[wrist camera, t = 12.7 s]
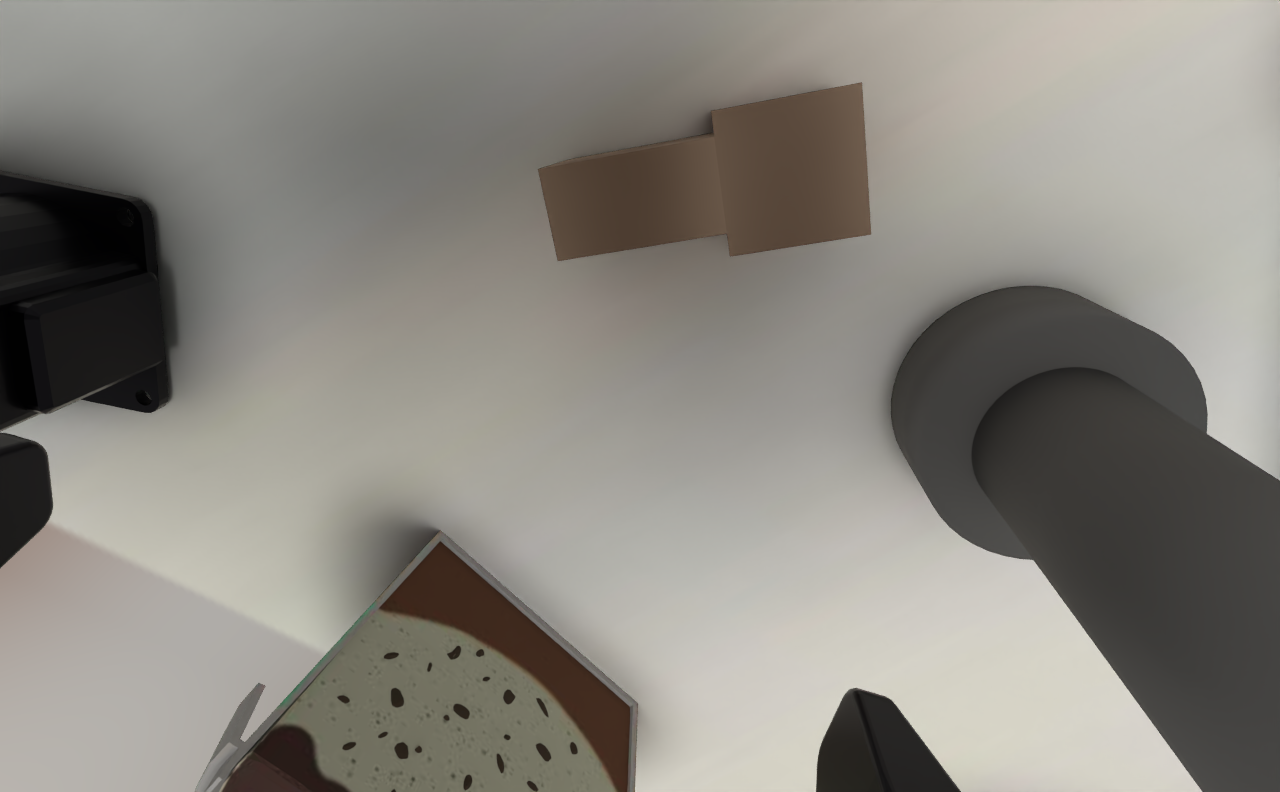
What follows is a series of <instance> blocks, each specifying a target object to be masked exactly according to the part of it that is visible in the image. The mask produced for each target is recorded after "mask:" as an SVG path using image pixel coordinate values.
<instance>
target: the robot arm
mask: <svg viewBox="0 0 1280 792" xmlns="http://www.w3.org/2000/svg"><path fill="white" fill-rule="evenodd" d="M128 210H129V211H130V212H131V213H132V214H133V217H134V222H132V221H131V220H130V219H129V218H128V215H127V211H128ZM145 391H146V392H147V393H148V394H149V395H150V396H151V399H152V400H151V399H149V398H148V397H147V396H146V393H145ZM168 397H169V395H168V384H167V373H166V361H165V350H164V338H163V327H162V315H161V304H160V293H159V281H158V270H157V258H156V247H155V236H154V224H153V217H152V213H151V211H150V209H149V207H148V206H147V205H146V204H145V203H144V202H143V201H142V200H140V199H138V198H135V197H131V196H126V195H121V194H116V193H110V192H105V191H100V190H95V189H90V188H85V187H80V186H75V185H70V184H65V183H60V182H54V181H49V180H44V179H39V178H34V177H29V176H24V175H19V174H14V173H9V172H4V171H0V432H1V431H3V430H5V429H7V428H10V427H12V426H14V425H16V424H19V423H21V422H23V421H25V420H28V419H30V418H32V417H34V416H37V415H39V414H41V413H44V414H47V413H52V412H54V411H56V410H58V409H61V408H63V407H65V406H67V405H69V404H72V403H74V402H76V401H78V400H86V401H90V402H95V403H100V404H105V405H110V406H115V407H120V408H125V409H130V410H135V411H139V412H144V413H151V412H154V411H156V410H158V409H160V408H162V407H163V406H165V405H166V404H167V402H168ZM52 510H53V498H52V489H51V480H50V471H49V462H48V455H47V452H46V450H45V449H44V448H43V446H42V445H40V444H39V443H37V442H35V441H31V440H28V439H25V438H21V437H18V436H15V435H11V434H7V433H0V568H1V567H2V566H3V565H4V564H5V563H6V562H7V561H8V560H10V559H11V558H12V557H13V556H14V555H15V554H16V553H17V552H18V551H19V550H20V549H21V548H22V547H23V546H24V545H26V544H27V543H28V542H29V541H30V540H31V539H32V538H33V537H34V536H35V535H36V534H37V533H38V532H39V531H40V530H41V529H42V528H43V527H44V526H45V525H46V523H47V522H48V520H49V518H50V516H51V514H52ZM816 792H961V791H960V790H959V789H958V787H957V786H956V785H955V783H954V782H953V781H952V779H951V778H950V777H949V775H948V774H947V773H946V771H945V770H944V769H943V767H942V766H941V765H940V763H939V762H938V761H937V759H936V758H935V757H934V755H933V754H932V753H931V751H930V750H929V749H928V747H927V746H926V745H925V743H924V742H923V741H922V739H921V738H920V737H919V735H918V734H917V733H916V731H915V730H914V729H913V727H912V726H911V725H910V723H909V722H908V721H907V719H906V718H905V717H904V715H903V714H902V713H901V711H900V710H899V709H898V707H897V706H896V705H895V704H894V703H893V701H892V700H890V699H889V698H887V697H885V696H882V695H879V694H875V693H872V692H869V691H865V690H862V689H859V688H853V689H850V690H848V692H847V693H846V694H845V695H844V697H843V699H842V701H841V703H840V705H839V707H838V709H837V711H836V713H835V715H834V717H833V720H832V722H831V724H830V726H829V728H828V730H827V732H826V734H825V736H824V738H823V741H822V743H821V746H820V750H819V755H818V762H817V784H816Z"/></svg>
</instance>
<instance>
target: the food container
mask: <svg viewBox="0 0 1280 792" xmlns="http://www.w3.org/2000/svg"><path fill="white" fill-rule="evenodd" d="M264 688H265V685H263V684H260V683H258V684H257V685H256V686H255V688H254V689H253V690H252V691H251V692H250V693H249V694H248V696H247V697H246V698H245V699H244V700H243V701H242V702H241V704H240V705H239V707H238V708H237V710H236V712H235V714H234V716H233V718H232V719H231V721H230V723H229V725H228V727H227V729H226V730H225V732H224V734H223V736H222V738H221V740H220V742H219V744H218V746H217V748H216V750H215V752H214V754H213V756H212V758H211V760H210V762H209V763H208V766H207V767H206V769H205V771H204V773H203V775H202V777H201V779H200V781H199V783H198V785H197V787H196V789H195V792H635V772H636V743H637V714H638V703H637V702H635V701H634V700H633V699H632V698H631V697H630V696H629V695H627V694H626V693H625V692H624V691H623V690H622V689H621V688H619V687H618V686H617V685H616V684H615V683H614V682H613V681H611V680H610V679H609V678H608V677H607V676H606V675H605V674H603V673H602V672H601V671H600V670H599V669H598V668H597V667H596V666H594V665H593V664H592V663H591V662H590V661H589V660H588V659H586V658H585V657H584V656H583V655H582V654H581V653H580V652H578V651H577V650H576V649H575V648H574V647H573V646H572V645H570V644H569V643H568V642H567V641H566V640H565V639H564V638H562V637H561V636H560V635H559V634H558V633H557V632H556V631H555V630H553V629H552V628H551V627H550V626H549V625H548V624H547V623H545V622H544V621H543V620H542V619H541V618H540V617H539V616H537V615H536V614H535V613H534V612H533V611H532V610H531V609H529V608H528V607H527V606H526V605H525V604H524V603H523V602H521V601H520V600H519V599H518V598H517V597H516V596H515V595H513V594H512V593H511V592H510V591H509V590H508V589H507V588H506V587H504V586H503V585H502V584H501V583H500V582H499V581H498V580H496V579H495V578H494V577H493V576H492V575H491V574H490V573H488V572H487V571H486V570H485V569H484V568H483V567H482V566H480V565H479V564H478V563H477V562H476V561H475V560H474V559H472V558H471V557H470V556H469V555H468V554H467V553H466V552H465V551H463V550H462V549H461V548H460V547H459V546H458V545H457V544H455V543H454V542H453V541H452V540H451V539H450V538H449V537H447V536H446V535H445V534H444V533H443V532H442V531H441V530H440V531H439V532H438V533H437V534H436V536H435V537H434V538H433V539H432V540H431V541H430V542H429V543H428V544H427V545H426V546H425V547H424V549H423V550H422V551H421V552H420V553H419V554H418V555H417V556H416V557H415V558H414V559H413V560H412V562H411V563H410V564H409V565H408V566H407V567H406V568H405V569H404V570H403V571H402V572H401V574H400V575H399V576H398V577H397V578H396V579H395V580H394V581H393V582H392V583H391V584H390V585H389V587H388V588H387V589H386V590H385V591H384V592H383V593H382V594H381V595H380V596H379V597H378V599H377V600H376V601H375V602H374V603H373V604H372V605H371V606H370V607H369V608H368V609H367V610H366V612H365V613H364V614H363V615H362V616H361V617H360V618H359V619H358V620H357V621H356V622H355V623H354V625H353V626H352V627H351V628H350V629H349V630H348V631H347V632H346V633H345V634H344V635H343V637H342V638H341V639H340V640H339V641H338V642H337V643H336V644H335V645H334V646H333V647H332V648H331V650H330V651H329V652H328V653H327V654H326V655H325V656H324V657H323V658H322V660H320V662H319V663H318V664H317V665H316V666H315V667H314V668H313V669H312V670H311V671H310V672H309V673H308V675H307V676H306V677H305V678H304V679H303V680H302V681H301V682H300V684H298V685H297V686H296V688H295V689H294V690H293V691H292V692H291V693H290V694H289V695H288V696H287V697H286V698H285V699H284V701H283V702H282V703H281V704H280V705H279V706H278V707H277V708H276V709H275V710H274V712H272V714H271V715H270V716H269V717H268V718H267V719H266V720H265V721H264V722H263V723H262V724H261V726H260V727H259V728H258V729H257V730H256V731H255V732H254V733H253V734H252V735H251V737H249V739H248V740H247V741H246V742H244V741H242V740H241V739H240V738H241V736H242V734H243V732H244V730H245V728H246V725H247V723H248V721H249V719H250V717H251V715H252V713H253V711H254V709H255V707H256V705H257V702H258V700H259V698H260V696H261V694H262V692H263V690H264Z"/></svg>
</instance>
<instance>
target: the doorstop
mask: <svg viewBox="0 0 1280 792" xmlns="http://www.w3.org/2000/svg"><path fill="white" fill-rule="evenodd" d="M891 417H892V425H893V430H894V433H895V437H896V440H897V442H898V444H899V447H900V449H901V451H902V453H903V455H904V456H905V458H906V460H907V461H908V463H909V465H910V467H911V468H912V470H913V472H914V474H915V475H916V477H917V479H918V481H919V482H920V484H921V486H922V488H923V489H924V491H925V493H926V495H927V496H928V498H929V500H930V502H931V503H932V505H933V507H934V508H935V510H936V511H937V513H938V514H939V516H940V517H941V518H942V519H943V520H944V521H945V522H946V523H947V525H948V526H949V527H950V528H952V529H953V530H954V531H955V532H956V533H958V534H959V535H960V536H961V537H963V538H964V539H966V540H968V541H969V542H971V543H973V544H974V545H976V546H979V547H981V548H983V549H985V550H987V551H990V552H993V553H997V554H1000V555H1003V556H1008V557H1013V558H1019V559H1030V560H1034V561H1035V563H1036V564H1037V565H1038V567H1039V568H1040V569H1041V571H1042V572H1043V574H1044V575H1045V576H1046V578H1047V579H1048V580H1049V582H1050V583H1051V585H1052V586H1053V587H1054V589H1055V590H1056V591H1057V593H1058V594H1059V595H1060V597H1061V598H1062V600H1063V601H1064V602H1065V604H1066V605H1067V606H1068V608H1069V609H1070V611H1071V612H1072V613H1073V615H1074V616H1075V617H1076V619H1077V620H1078V622H1079V623H1080V624H1081V626H1082V627H1083V628H1084V630H1085V631H1086V633H1087V634H1088V635H1089V637H1090V638H1091V639H1092V641H1093V642H1094V643H1095V645H1096V646H1097V648H1098V649H1099V650H1100V652H1101V653H1102V654H1103V656H1104V657H1105V659H1106V660H1107V661H1108V663H1109V664H1110V665H1111V667H1112V668H1113V670H1114V671H1115V672H1116V674H1117V675H1118V676H1119V678H1120V679H1121V680H1122V682H1123V683H1124V685H1125V686H1126V687H1127V689H1128V690H1129V691H1130V693H1131V694H1132V696H1133V697H1134V698H1135V700H1136V701H1137V702H1138V704H1139V705H1140V707H1141V708H1142V709H1143V711H1144V712H1145V713H1146V715H1147V716H1148V718H1149V719H1150V720H1151V722H1152V723H1153V724H1154V726H1155V727H1156V728H1157V730H1158V731H1159V733H1160V734H1161V735H1162V737H1163V738H1164V739H1165V741H1166V742H1167V744H1168V745H1169V746H1170V748H1171V749H1172V750H1173V752H1174V753H1175V755H1176V756H1177V757H1178V759H1179V760H1180V761H1181V763H1182V764H1183V765H1184V767H1185V768H1186V770H1187V771H1188V772H1189V774H1190V775H1191V776H1192V778H1193V779H1194V781H1195V782H1196V783H1197V785H1198V786H1199V787H1200V789H1201V790H1202V792H1280V481H1279V480H1278V479H1276V478H1275V477H1273V476H1272V475H1270V474H1268V473H1267V472H1265V471H1264V470H1262V469H1261V468H1259V467H1257V466H1256V465H1254V464H1253V463H1251V462H1250V461H1248V460H1247V459H1245V458H1243V457H1242V456H1240V455H1239V454H1237V453H1236V452H1234V451H1232V450H1231V449H1229V448H1228V447H1226V446H1225V445H1223V444H1222V443H1220V442H1218V441H1217V440H1215V439H1214V438H1212V437H1211V436H1209V435H1207V434H1206V432H1207V406H1206V398H1205V395H1204V391H1203V388H1202V385H1201V382H1200V380H1199V378H1198V376H1197V374H1196V372H1195V370H1194V368H1193V367H1192V366H1191V364H1190V363H1189V361H1188V360H1187V359H1186V357H1185V356H1184V355H1183V354H1182V353H1181V352H1180V351H1179V350H1178V349H1177V348H1176V347H1175V346H1174V345H1173V344H1172V343H1170V342H1169V341H1167V340H1166V339H1164V338H1163V337H1161V336H1160V335H1159V334H1157V333H1155V332H1153V331H1151V330H1149V329H1147V328H1145V327H1143V326H1141V325H1139V324H1136V323H1134V322H1132V321H1130V320H1128V319H1126V318H1124V317H1122V316H1120V315H1118V314H1116V313H1114V312H1112V311H1110V310H1108V309H1106V308H1104V307H1102V306H1099V305H1097V304H1095V303H1093V302H1091V301H1089V300H1087V299H1085V298H1083V297H1081V296H1079V295H1077V294H1074V293H1071V292H1068V291H1064V290H1061V289H1056V288H1050V287H1041V286H1022V287H1011V288H1006V289H1001V290H996V291H992V292H989V293H986V294H983V295H980V296H977V297H975V298H973V299H971V300H968V301H966V302H964V303H962V304H960V305H959V306H957V307H955V308H954V309H952V310H950V311H949V312H947V313H946V314H945V315H943V316H942V317H941V318H939V319H938V320H937V321H935V322H934V323H933V324H932V325H931V326H930V327H929V328H928V329H927V330H926V331H925V332H924V333H923V334H922V335H921V336H920V337H919V339H918V340H917V341H916V342H915V344H914V345H913V346H912V348H911V349H910V351H909V352H908V354H907V356H906V357H905V359H904V361H903V363H902V365H901V367H900V369H899V372H898V374H897V377H896V381H895V384H894V388H893V394H892V399H891Z"/></svg>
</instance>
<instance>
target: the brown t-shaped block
mask: <svg viewBox="0 0 1280 792" xmlns="http://www.w3.org/2000/svg"><path fill="white" fill-rule="evenodd" d="M711 116H712V124H713V131H714V133H710V134H704V135H699V136H693V137H688V138H683V139H677V140H672V141H666V142H661V143H656V144H650V145H645V146H639V147H634V148H628V149H623V150H618V151H612V152H607V153H601V154H596V155H590V156H585V157H580V158H574V159H569V160H566V161H562V162H559V163H556V164H553V165H550V166H546V167H543V168H540V169H538V172H539V176H540V181H541V186H542V190H543V195H544V200H545V204H546V209H547V213H548V218H549V223H550V227H551V232H552V236H553V241H554V246H555V250H556V255H557V260H558V261H561V260H568V259H574V258H580V257H586V256H592V255H598V254H605V253H611V252H617V251H623V250H629V249H636V248H642V247H648V246H654V245H660V244H666V243H673V242H679V241H685V240H691V239H697V238H703V237H710V236H716V235H722V234H727V238H728V246H729V254H730V256H737V255H743V254H749V253H756V252H762V251H769V250H775V249H781V248H788V247H794V246H800V245H807V244H813V243H819V242H826V241H832V240H839V239H845V238H851V237H858V236H864V235H870V234H871V224H870V207H869V191H868V174H867V157H866V141H865V124H864V108H863V91H862V83H856V84H851V85H846V86H841V87H835V88H830V89H825V90H819V91H814V92H809V93H804V94H798V95H793V96H788V97H782V98H777V99H772V100H767V101H761V102H756V103H751V104H745V105H740V106H735V107H730V108H724V109H719V110H714V111H711Z"/></svg>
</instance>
